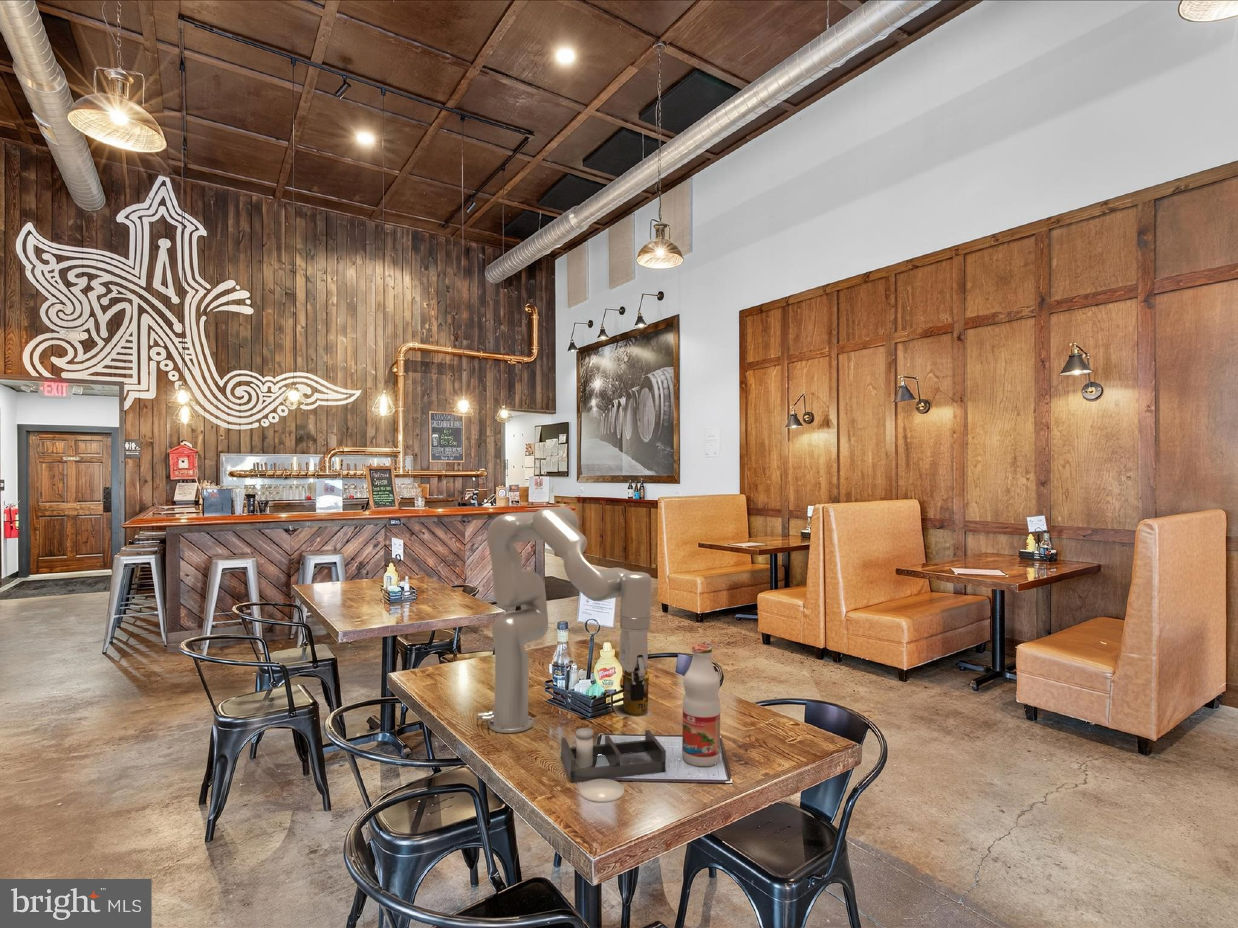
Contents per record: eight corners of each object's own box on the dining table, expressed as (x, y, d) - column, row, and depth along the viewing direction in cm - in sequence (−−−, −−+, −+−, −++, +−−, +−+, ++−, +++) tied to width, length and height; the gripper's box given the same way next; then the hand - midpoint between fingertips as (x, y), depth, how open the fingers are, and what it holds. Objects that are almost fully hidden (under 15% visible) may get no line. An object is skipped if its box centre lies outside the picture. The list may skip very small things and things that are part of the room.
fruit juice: (727, 759, 157) (728, 647, 158) (703, 771, 150) (704, 653, 151) (698, 747, 164) (699, 639, 165) (674, 758, 157) (675, 645, 158)
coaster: (584, 804, 134) (584, 802, 134) (575, 782, 144) (575, 781, 144) (629, 799, 136) (629, 797, 136) (617, 778, 146) (617, 776, 146)
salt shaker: (577, 768, 151) (578, 735, 151) (574, 761, 155) (574, 728, 155) (594, 767, 152) (595, 733, 152) (590, 759, 156) (591, 727, 156)
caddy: (570, 782, 144) (571, 760, 144) (561, 758, 156) (561, 738, 156) (665, 771, 150) (665, 750, 150) (648, 749, 162) (649, 729, 162)
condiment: (652, 716, 153) (654, 666, 153) (618, 718, 151) (620, 668, 151) (644, 705, 160) (646, 658, 160) (612, 706, 158) (613, 659, 158)
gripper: (611, 615, 163) (609, 684, 163) (630, 631, 146) (627, 709, 146) (639, 614, 165) (637, 683, 165) (660, 630, 148) (658, 706, 148)
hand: (632, 694), depth 155 cm, fingers closed on condiment, 6 cm apart
